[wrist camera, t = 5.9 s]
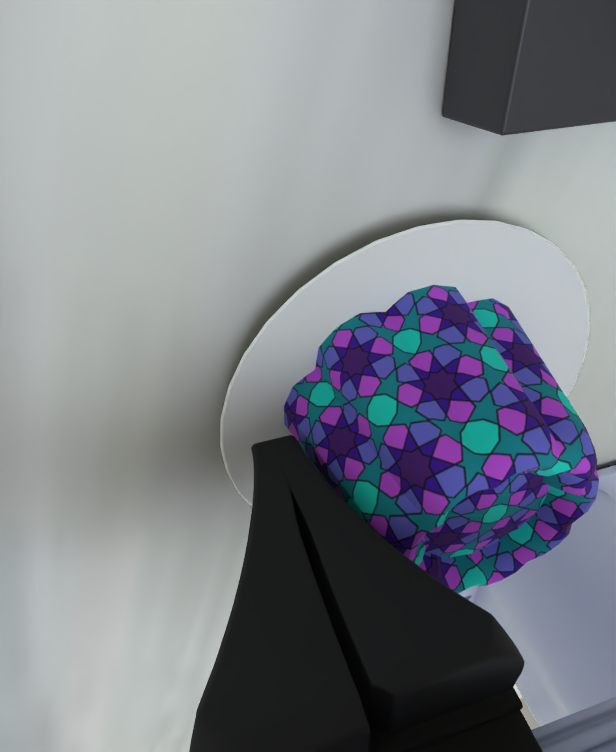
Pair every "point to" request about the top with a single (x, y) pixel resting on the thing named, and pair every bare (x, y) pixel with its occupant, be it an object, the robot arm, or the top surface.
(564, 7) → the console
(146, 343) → the top surface
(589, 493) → the pudding
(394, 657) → the robot arm
